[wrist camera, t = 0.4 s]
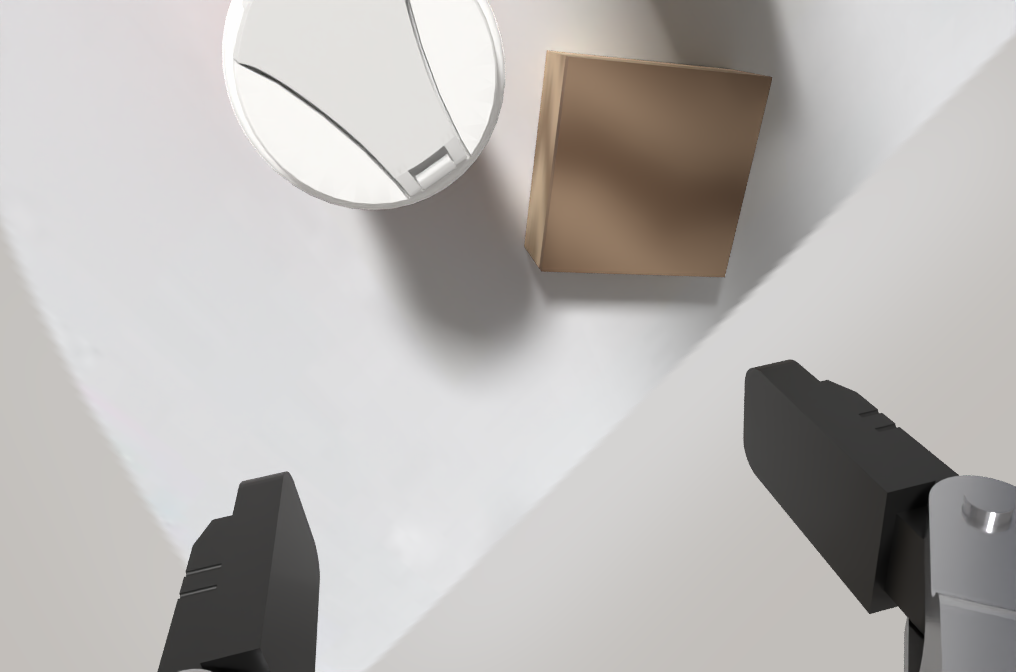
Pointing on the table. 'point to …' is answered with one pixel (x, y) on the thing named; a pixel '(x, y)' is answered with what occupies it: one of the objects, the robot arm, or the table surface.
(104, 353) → the table surface
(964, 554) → the robot arm
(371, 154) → the coffee cup
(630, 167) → the pedestal
